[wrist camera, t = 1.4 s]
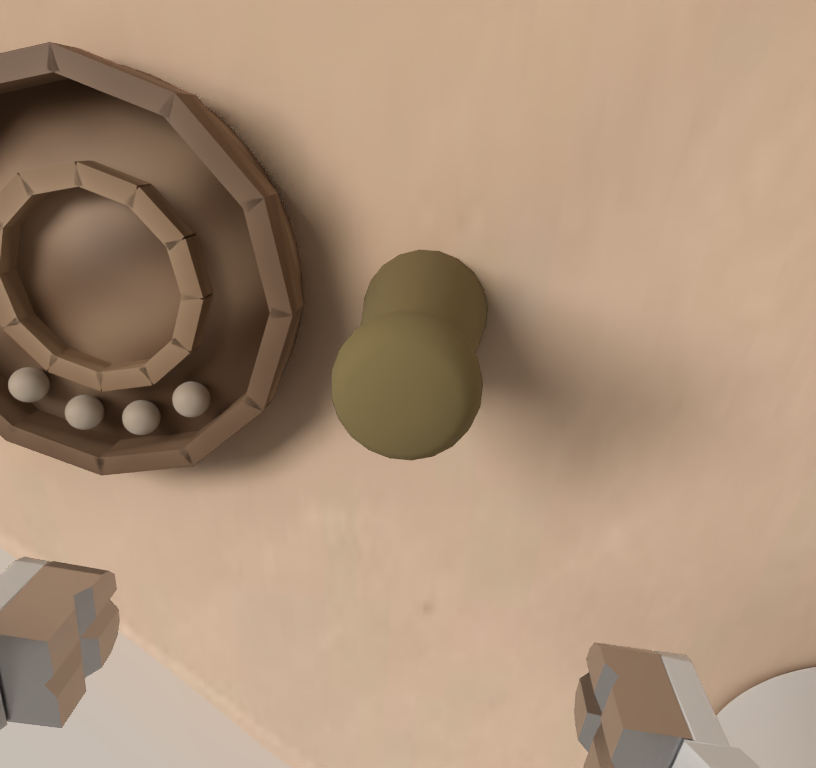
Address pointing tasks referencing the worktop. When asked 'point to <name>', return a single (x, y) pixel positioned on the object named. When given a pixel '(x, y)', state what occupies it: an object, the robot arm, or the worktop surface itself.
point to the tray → (133, 267)
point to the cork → (413, 358)
